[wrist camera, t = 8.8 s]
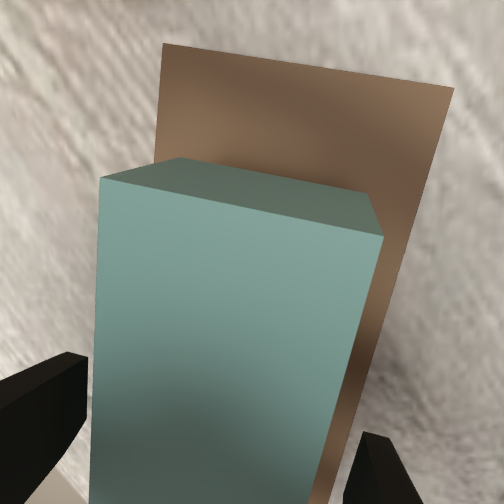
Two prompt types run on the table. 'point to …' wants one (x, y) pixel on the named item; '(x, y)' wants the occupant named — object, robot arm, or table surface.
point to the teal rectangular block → (221, 331)
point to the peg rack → (312, 161)
